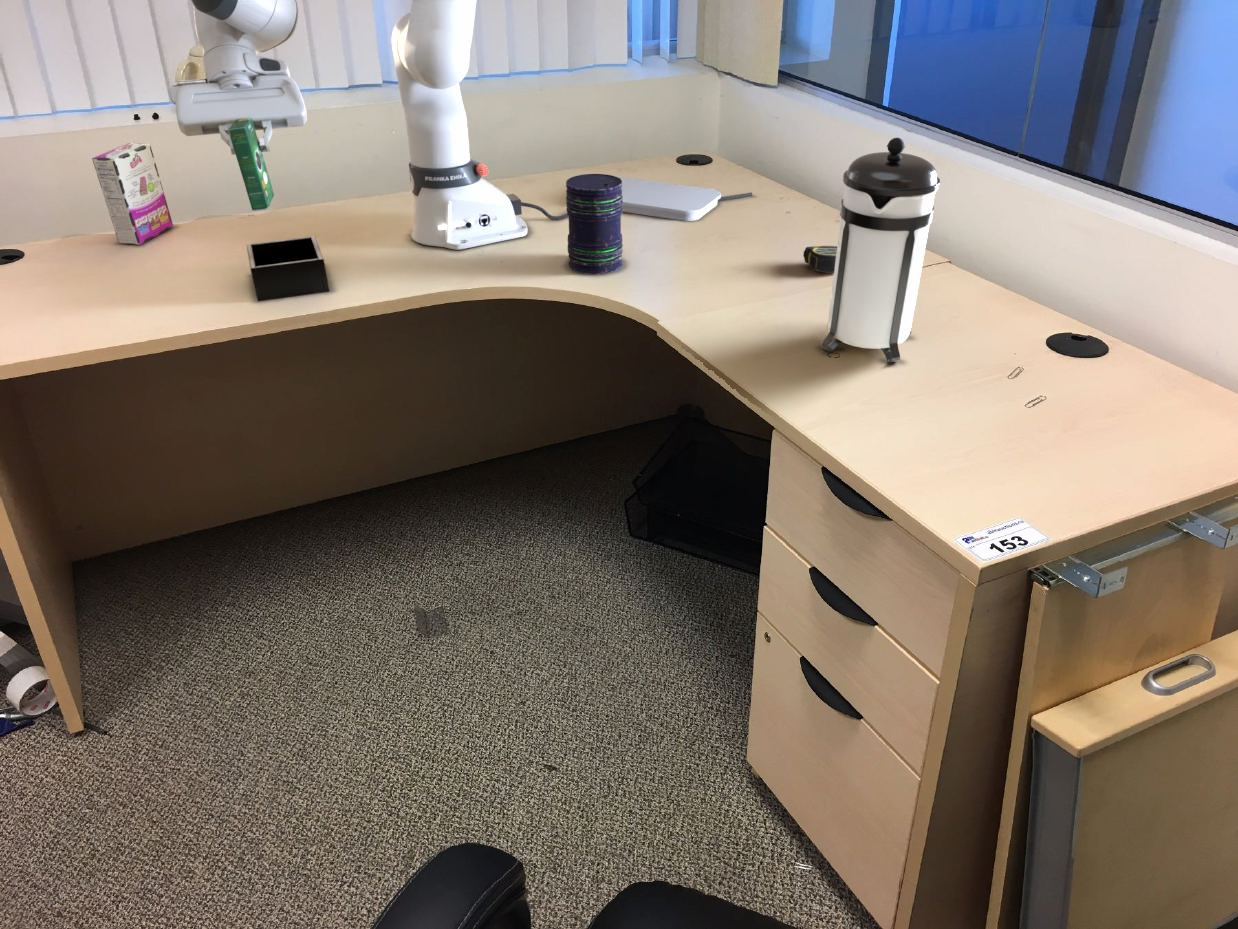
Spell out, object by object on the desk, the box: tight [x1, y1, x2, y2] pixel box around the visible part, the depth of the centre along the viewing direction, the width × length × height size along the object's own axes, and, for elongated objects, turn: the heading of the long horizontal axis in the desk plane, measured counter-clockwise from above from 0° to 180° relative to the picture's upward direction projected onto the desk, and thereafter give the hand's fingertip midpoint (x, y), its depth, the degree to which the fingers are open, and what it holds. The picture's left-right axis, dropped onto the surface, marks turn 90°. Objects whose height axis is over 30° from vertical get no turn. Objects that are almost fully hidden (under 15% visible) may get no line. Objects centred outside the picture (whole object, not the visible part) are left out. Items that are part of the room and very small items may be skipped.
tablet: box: [619, 177, 722, 222], centre depth 199 cm, size 16×26×2 cm, turn 64°
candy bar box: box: [91, 142, 174, 246], centre depth 179 cm, size 11×5×16 cm, turn 168°
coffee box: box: [228, 118, 275, 212], centre depth 154 cm, size 8×3×13 cm, turn 10°
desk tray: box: [246, 235, 330, 302], centre depth 161 cm, size 12×13×6 cm
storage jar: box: [565, 173, 624, 276], centre depth 165 cm, size 10×10×15 cm
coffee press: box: [821, 137, 941, 364], centre depth 134 cm, size 17×16×30 cm
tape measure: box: [803, 245, 838, 274], centre depth 166 cm, size 7×7×4 cm
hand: (250, 151), depth 155 cm, fingers closed on coffee box, 3 cm apart
